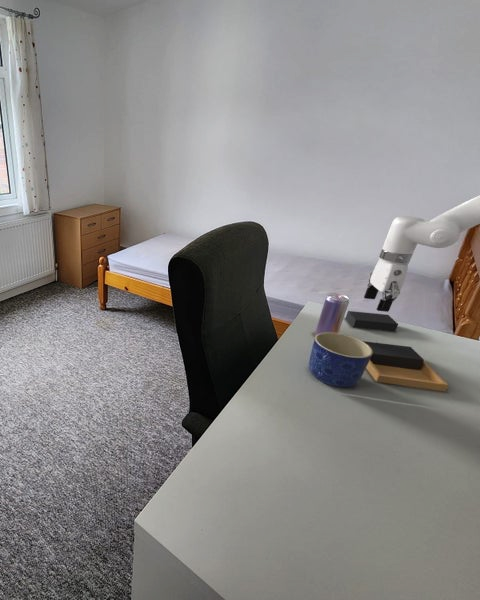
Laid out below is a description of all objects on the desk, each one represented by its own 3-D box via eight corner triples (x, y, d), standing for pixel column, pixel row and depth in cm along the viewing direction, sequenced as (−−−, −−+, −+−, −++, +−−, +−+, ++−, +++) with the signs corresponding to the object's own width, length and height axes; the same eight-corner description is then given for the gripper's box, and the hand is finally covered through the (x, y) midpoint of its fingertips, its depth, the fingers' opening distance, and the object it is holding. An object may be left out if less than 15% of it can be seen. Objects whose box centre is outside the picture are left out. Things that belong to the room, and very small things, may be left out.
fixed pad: (406, 356, 101) (410, 346, 99) (419, 370, 95) (424, 360, 93) (358, 350, 104) (362, 340, 103) (368, 363, 98) (372, 353, 97)
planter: (354, 371, 96) (367, 338, 91) (363, 398, 86) (378, 362, 81) (303, 360, 101) (312, 328, 96) (306, 384, 91) (317, 350, 87)
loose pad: (384, 323, 120) (388, 314, 118) (394, 333, 114) (398, 324, 112) (344, 319, 123) (347, 310, 122) (352, 328, 117) (355, 319, 116)
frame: (409, 356, 101) (412, 349, 100) (444, 393, 87) (449, 385, 86) (351, 349, 106) (353, 342, 104) (375, 382, 91) (379, 375, 90)
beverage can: (318, 341, 110) (331, 300, 104) (311, 332, 115) (323, 292, 109) (338, 343, 109) (353, 301, 102) (331, 334, 114) (344, 293, 108)
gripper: (425, 266, 99) (402, 317, 107) (395, 249, 114) (377, 295, 122) (394, 264, 101) (373, 314, 109) (369, 247, 116) (352, 293, 124)
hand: (375, 304), depth 115 cm, fingers open, 9 cm apart
